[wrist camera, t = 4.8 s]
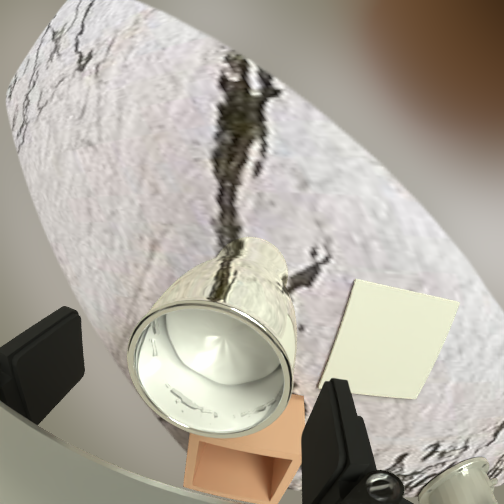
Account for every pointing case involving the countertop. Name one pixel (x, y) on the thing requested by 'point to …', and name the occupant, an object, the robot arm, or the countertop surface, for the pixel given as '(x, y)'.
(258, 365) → the beer glass
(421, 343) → the plain cream tile
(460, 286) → the countertop surface
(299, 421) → the open box
